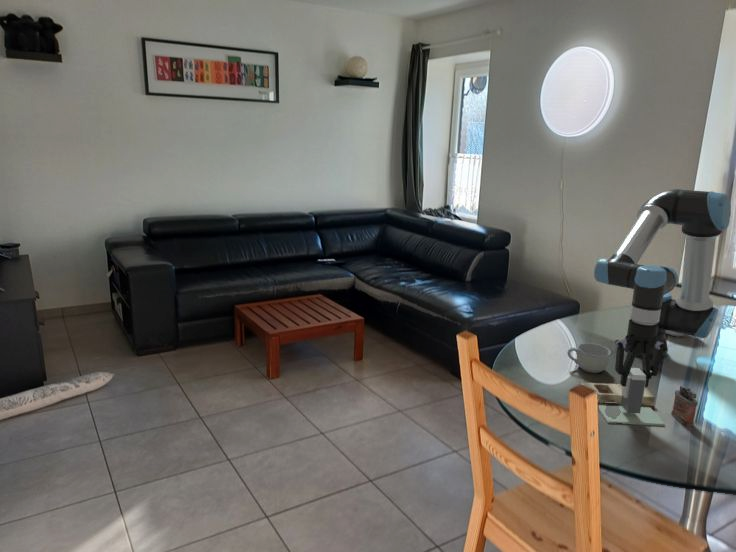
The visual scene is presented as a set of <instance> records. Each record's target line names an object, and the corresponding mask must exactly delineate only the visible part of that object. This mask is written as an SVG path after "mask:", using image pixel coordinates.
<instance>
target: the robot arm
mask: <svg viewBox="0 0 736 552" xmlns="http://www.w3.org/2000/svg"><path fill="white" fill-rule="evenodd" d="M731 205H732V204H731V200H730V198H729V196H728V195H727V194H725V193H722V192H715V191H713V190H712V191H705V190H704V191H703V190H690V189H679V188H678V189H677V188H675V189H673V188H672V189H668V190H665V191H662V192H659V193H658V194H656V195H654V196H652V197H651V198H650V199H648V200H647V201H646V202H644V204H642V205H641V206H640V207H639V209H638V212H637V215H636V217H637V218H636V220H635V221H634V223H633V224H632V226H631V227H630V229H629V230H628V232H627V233H626V235H625V236H624V238H623V239H622V241H621V242H620V244H619V245H618V246H617V248H616V249H615V251H614V252H613V254H612V256H610V258H600V259H598V261H597V262H596V264H595V266H594V271H593V275H594V276H593V277H594V279H595V281H596V282H598V283H602V284H605V285H609V286H615V287H619V288H620V287H621V288H626V289H631V290H633V291H632V292H633V293H632V301H631V304H630V305H631V306H630V313H629V318H630V319H629V320H628V325H627V334H626V336H625V338H624V339H620V340H619V339H616V340H615V341H614V342H615V346H616V354H615V364H614V365H615V367H614V370H615V372H616V373H617V374H618V375H620V382H619V383H620V384H621V385H622V386H623V387H622V395H623V396H624V397H625V398H628V393H629V386H630V380H631V377H630V376H629V373H630V370H631V368H633V363H634V361H635V358H636V357H640V358H641V363H642V364H641V365H642V372H643V373H644V374H645V375H646V379H645V385H644V389H645V387H646V388H648V386H649V382H650V380H651V379H652V377H653V376H654V377H657V375H658V372H659V368H660V363H661V359H664V358H666V357H668V352H669V348H668V342H667V338H666V333H665V332H666V330H668V331H673V332H677V333H681V334H685V335H684V336H686V335H687V336H690V337H692V338H694V337H695V338H699V339H706V338H708V337H709V336H710V334H711V332H712V330H713V327H714V325H715V323H716V320H717V317H718V315H719V314H718V313H719V309H718V308H717V307H715V306H714V301H713V300H712V299H711V298H710V291H711V281H712V272H713V265H714V257H715V247H716V241H717V237H719V236H720V235H722V233H723V231H725V230H727V229H728V228H729V225H730V220H731V217H732V214H731V213H732V212H731V211H732V207H731ZM667 224H668V225H670V224H672V225H679V226H681V233H682V234H683V235H684V236H685V245H684V256H683V265H682V267H683V268H682V275H681V276H682V279H681V289H680V294H679V295H677V296H676V297H675V299H673V297H672V294H670V292H672V291H673V290H674V288H675V287H677V285H678V283H679V275H678V273H677V271H676V270H675V269H674V268H672V267H670V266H665V265H661V266H656V265H643V264H638V263H639V262H640V260H641V258H642V256H643V255H644V254H645V252H646V251H647V249H648V247H649V246H650V244H651V243H652V241H653V239H654V238H655V237H656V235H657V234H658V232H659V230H660V229H663V228H664V227H666V225H667ZM625 352H627V354H626V356H625ZM643 395H644V392H643ZM642 399H643V398H642Z"/></svg>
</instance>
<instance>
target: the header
mask: <svg viewBox="0 0 736 552" xmlns="http://www.w3.org/2000/svg"><path fill="white" fill-rule="evenodd" d="M580 385H585V386H587V387H590V388H592V389H594V390H596V391H597V393H598V399H599V403H598V404H601V405H604V404H603V403H605V402H617V403H621V399H622V387H623V386H622V385H621V384H619V383H604V382H603V383H602V382H601V383H599V382H579V386H580ZM655 399H656V398H655V395H654V394H653V393H652V392H651V391H650V390H649V389H648V387H645V389H644V395H643V399H642V404H641V406H644V407H654V403H655Z"/></svg>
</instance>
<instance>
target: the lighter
mask: <svg viewBox="0 0 736 552" xmlns="http://www.w3.org/2000/svg"><path fill="white" fill-rule="evenodd" d="M696 398H697V393H696V392H695V391H692V390H691V387H686V386H685V385H684V384H683V385H681V384H680V386H679V389H678V390H677V389H676V390H675V391H674V400H673V407H672V410H671V412H670V414H671V416H672V417H673V418H674V419H675V420H676V421H677V422H679V423H680V424H682V426H685V427H687V428H688V427H689V428H693V427H694V424H695V422H694V421H695V415H696V410H697V406H698V404H699V401H698V400H697V399H696Z"/></svg>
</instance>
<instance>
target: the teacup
mask: <svg viewBox="0 0 736 552" xmlns="http://www.w3.org/2000/svg"><path fill="white" fill-rule="evenodd" d="M572 352H576V353H575V354H576V357H573V355H572V354H571V353H572ZM567 356H568V357H569V359H570V360H571V361H573V362H574V363H575V364H576V365H578V367H580V368H581V370H582V371H584V372H587V373H592V374H597V373H598V374H599V373H601V372H603V371H605V370H606V369H607V367H608V365H609V362H610V356H611V350H610V349H609V348H608V347H607V346H604V345H602V344H598V343H595V342H582V343H579V344H578V345H577V348H576V347H570V348H568V350H567Z"/></svg>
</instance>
